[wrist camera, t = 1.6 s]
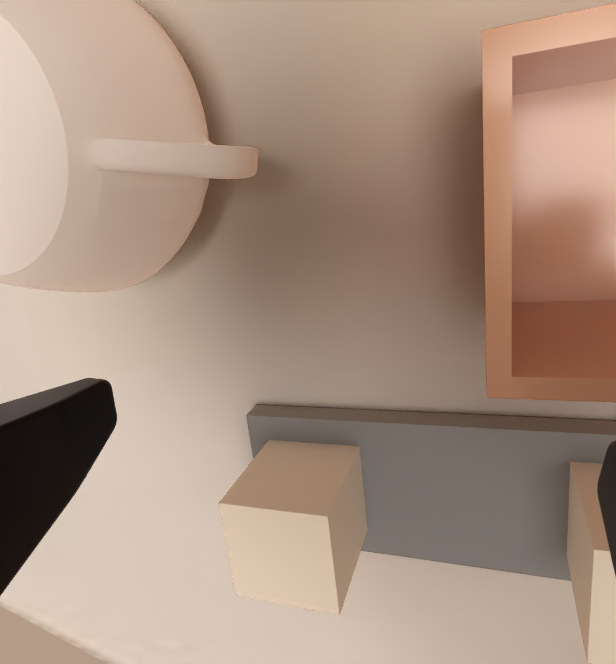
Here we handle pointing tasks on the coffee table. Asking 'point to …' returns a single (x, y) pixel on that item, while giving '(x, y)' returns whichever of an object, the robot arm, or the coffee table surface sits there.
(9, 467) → the robot arm
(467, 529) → the slate board
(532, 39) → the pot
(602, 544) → the block
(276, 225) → the coffee table surface
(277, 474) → the block
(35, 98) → the teapot
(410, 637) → the coffee table surface
